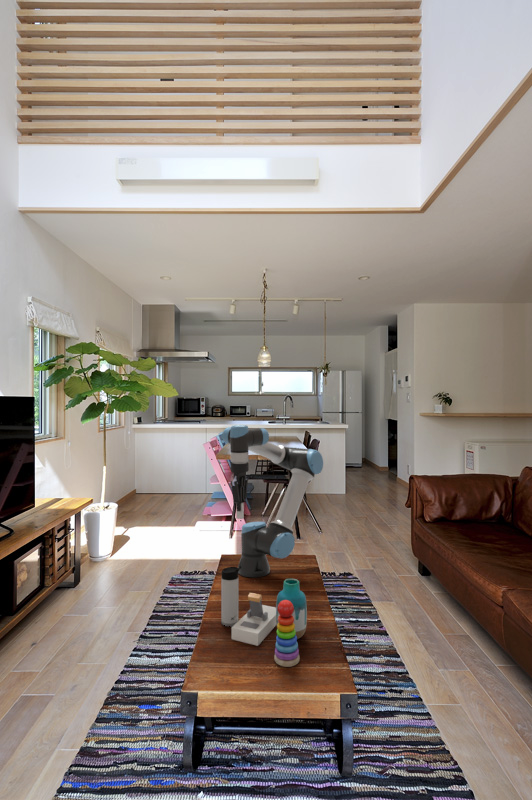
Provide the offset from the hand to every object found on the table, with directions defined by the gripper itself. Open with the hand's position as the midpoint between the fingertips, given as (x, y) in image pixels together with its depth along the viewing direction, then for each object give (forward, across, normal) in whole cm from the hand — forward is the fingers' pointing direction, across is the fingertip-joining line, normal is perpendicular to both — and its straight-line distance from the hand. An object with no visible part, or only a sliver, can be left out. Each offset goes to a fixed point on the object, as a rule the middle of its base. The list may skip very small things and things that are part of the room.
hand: (240, 518), depth 191 cm
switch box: (+32, +24, +18) cm, 44 cm away
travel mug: (+32, +23, +7) cm, 40 cm away
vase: (+32, +24, +31) cm, 51 cm away
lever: (+27, +24, +18) cm, 40 cm away
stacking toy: (+32, +38, +34) cm, 61 cm away
